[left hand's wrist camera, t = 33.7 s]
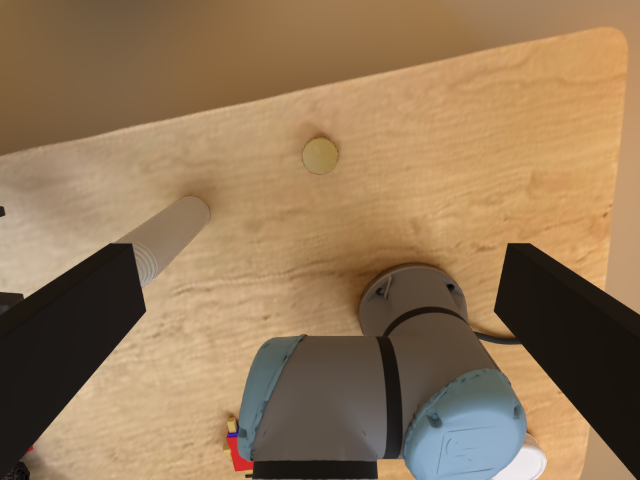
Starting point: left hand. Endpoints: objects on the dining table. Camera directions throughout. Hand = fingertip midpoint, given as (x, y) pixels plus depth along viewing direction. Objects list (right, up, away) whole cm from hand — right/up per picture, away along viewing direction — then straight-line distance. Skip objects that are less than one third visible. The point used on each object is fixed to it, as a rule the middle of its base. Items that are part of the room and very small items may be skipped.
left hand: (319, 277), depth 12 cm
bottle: (-17, +5, +34) cm, 38 cm away
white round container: (+33, -36, +50) cm, 70 cm away
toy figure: (-13, -34, +49) cm, 61 cm away
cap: (0, +11, +30) cm, 32 cm away
